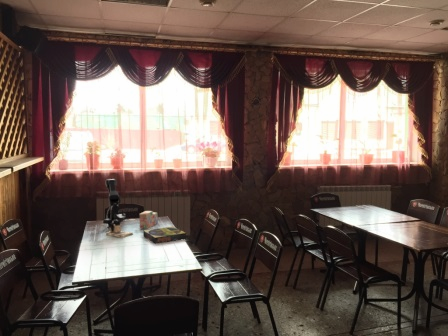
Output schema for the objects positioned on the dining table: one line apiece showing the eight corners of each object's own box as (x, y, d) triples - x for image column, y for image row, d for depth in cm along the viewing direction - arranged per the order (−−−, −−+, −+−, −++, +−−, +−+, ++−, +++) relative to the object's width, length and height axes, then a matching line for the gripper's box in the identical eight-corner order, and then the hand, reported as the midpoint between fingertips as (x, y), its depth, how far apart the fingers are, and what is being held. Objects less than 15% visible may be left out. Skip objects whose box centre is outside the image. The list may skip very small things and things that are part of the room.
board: (105, 234, 307) (105, 232, 307) (115, 231, 316) (115, 229, 316) (123, 237, 298) (123, 235, 298) (132, 234, 307) (132, 232, 307)
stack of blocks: (151, 222, 347) (150, 208, 346) (157, 223, 346) (157, 208, 345) (139, 228, 327) (139, 213, 326) (146, 229, 325) (146, 213, 324)
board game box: (186, 239, 294) (185, 232, 293) (155, 244, 282) (155, 237, 281) (172, 232, 314) (172, 226, 313) (143, 237, 302) (143, 230, 301)
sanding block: (109, 231, 309) (109, 225, 308) (114, 230, 313) (114, 224, 312) (116, 232, 305) (116, 226, 305) (120, 231, 309) (120, 225, 309)
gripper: (113, 213, 295) (113, 234, 297) (130, 209, 312) (131, 229, 313) (102, 212, 301) (102, 232, 302) (120, 208, 317) (120, 227, 319)
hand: (115, 230), depth 309 cm, fingers closed on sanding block, 4 cm apart
